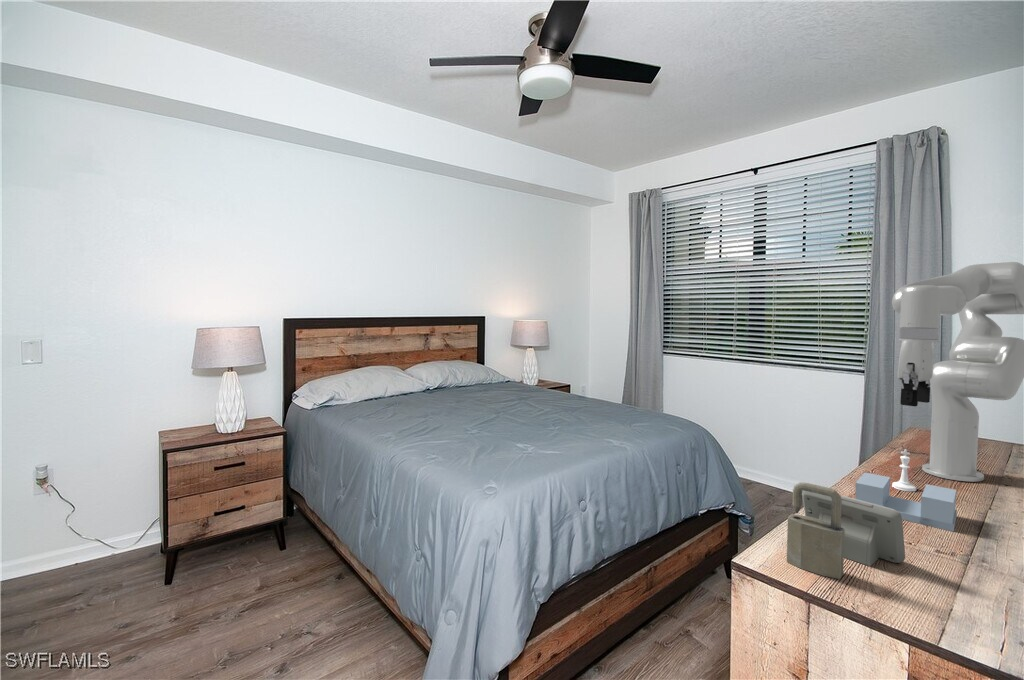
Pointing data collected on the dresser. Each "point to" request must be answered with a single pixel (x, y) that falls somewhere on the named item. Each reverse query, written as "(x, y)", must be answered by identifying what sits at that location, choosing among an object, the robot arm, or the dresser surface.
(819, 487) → the padlock
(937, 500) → the slot block
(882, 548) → the digital clock
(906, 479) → the chess piece
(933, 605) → the dresser surface
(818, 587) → the dresser surface
